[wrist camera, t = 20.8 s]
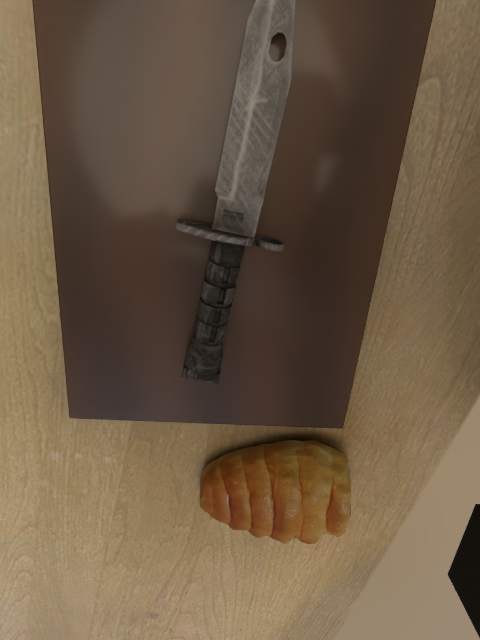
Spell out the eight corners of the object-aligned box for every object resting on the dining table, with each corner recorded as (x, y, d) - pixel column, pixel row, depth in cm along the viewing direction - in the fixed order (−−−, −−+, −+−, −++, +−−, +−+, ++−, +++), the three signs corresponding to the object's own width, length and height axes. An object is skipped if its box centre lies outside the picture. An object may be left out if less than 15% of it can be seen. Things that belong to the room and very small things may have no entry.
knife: (227, -93, 14) (368, -49, 15) (226, -68, 16) (352, -30, 17) (150, 378, 22) (247, 394, 22) (155, 359, 23) (245, 374, 24)
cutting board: (440, -74, 17) (455, -88, 16) (338, 416, 27) (343, 428, 26) (32, -128, 16) (18, -147, 15) (75, 406, 26) (69, 418, 25)
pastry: (201, 514, 30) (199, 565, 26) (198, 434, 27) (196, 479, 24) (336, 510, 30) (352, 559, 27) (346, 431, 28) (365, 474, 24)
